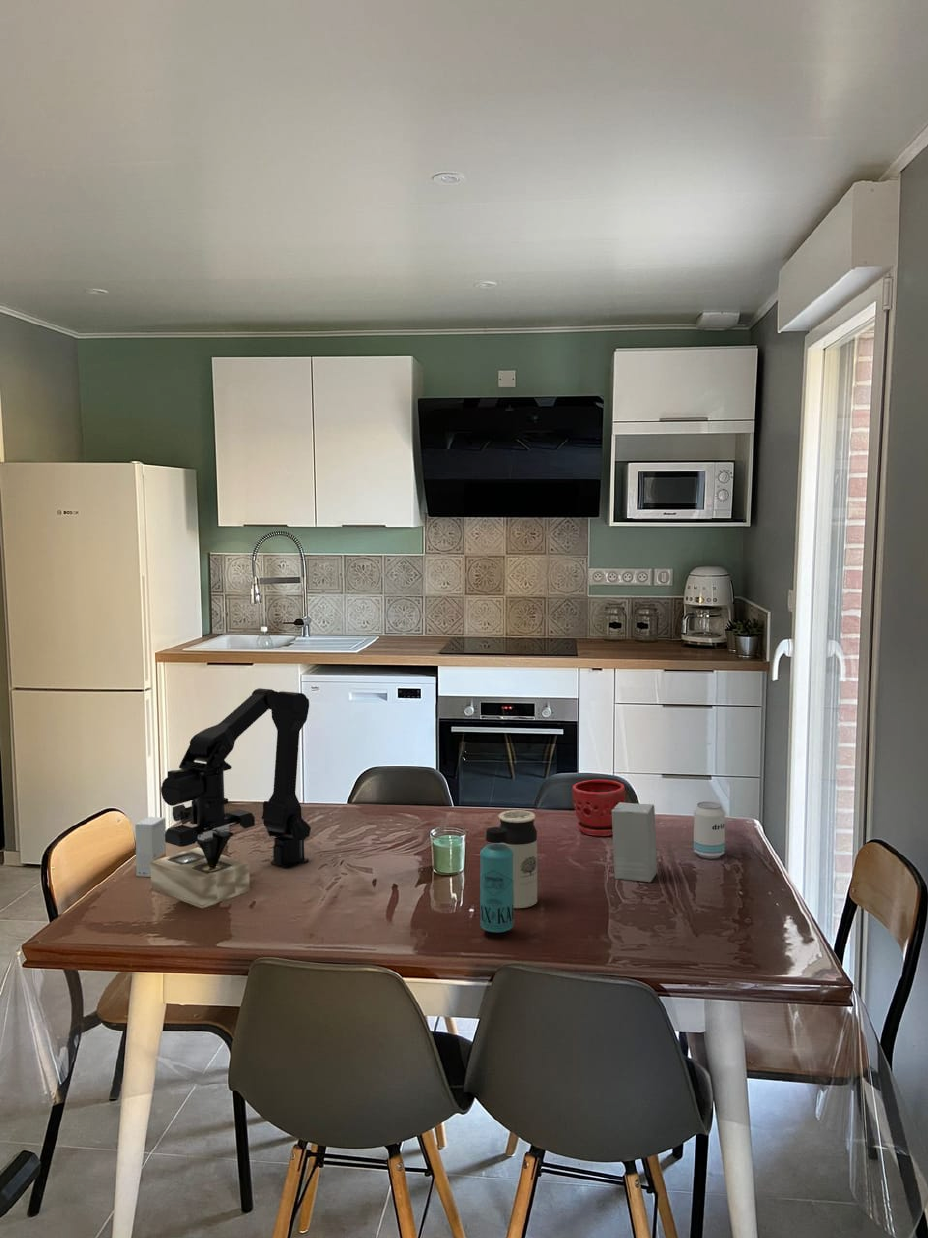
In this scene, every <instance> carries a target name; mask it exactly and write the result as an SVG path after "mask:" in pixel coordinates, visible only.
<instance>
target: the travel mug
mask: <svg viewBox="0 0 928 1238" xmlns="http://www.w3.org/2000/svg"><path fill="white" fill-rule="evenodd" d="M498 819H499V822H500V823H499V827H503V828H506V829H507V833H508V841H506V842H504V843H497V844H504V845H507V846H508V847H509V848H510V849H511V850H512V851H513V852H514V856H513V881H514V909H526V908H530V907H532V906H534V905H535V904H537V902H538V830H537V829H536V826H535V824H534V822H535V819H536V814H535V813H534V812H531V811H529V810H528V811H527V810H521V809H519V810H517V809H512V810H506V811H502V812H500V813H499V814H498Z"/></svg>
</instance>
